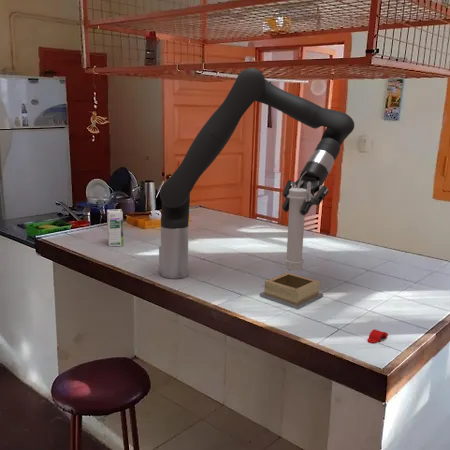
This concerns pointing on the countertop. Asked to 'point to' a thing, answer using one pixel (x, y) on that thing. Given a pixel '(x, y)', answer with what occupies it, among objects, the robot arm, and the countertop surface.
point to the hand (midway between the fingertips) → (293, 212)
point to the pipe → (295, 228)
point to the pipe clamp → (376, 336)
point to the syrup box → (115, 227)
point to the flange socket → (292, 290)
